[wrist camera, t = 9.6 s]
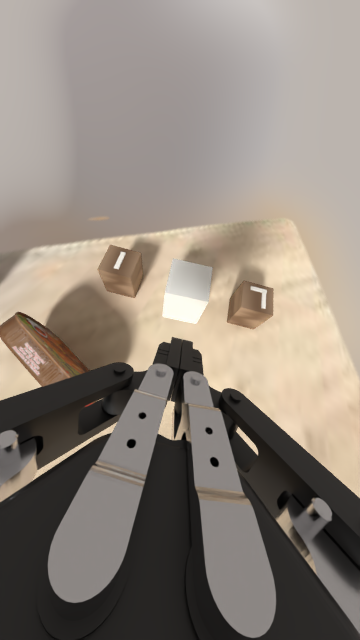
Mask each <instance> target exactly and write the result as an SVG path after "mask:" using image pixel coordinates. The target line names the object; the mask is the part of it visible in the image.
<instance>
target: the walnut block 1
mask: <svg viewBox="0 0 360 640" xmlns="http://www.w3.org/2000/svg"><path fill="white" fill-rule="evenodd" d="M98 271H99V274H100V276H101V278H102V281H103V283H104V285H105V287H106V290H107V291H109V292H113V293H117V294H121V295H125V296H129V297H132V298H135V296H136V293H137V291H138V288H139V285H140V283H141V280H142V278H143V269H142V258H141V253H139V252H136V251H132V250H128V249H124V248H121V247H117V246H113V245H110V246H109V248H108V250H107V252H106V254H105V256H104V258H103V260H102V262H101V263H100V265H99V267H98Z"/></svg>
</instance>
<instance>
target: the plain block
mask: <svg viewBox="0 0 360 640" xmlns="http://www.w3.org/2000/svg"><path fill="white" fill-rule="evenodd" d="M212 269H213V267H209V266H205V265H200V264H196V263H191V262H187V261H183V260H178V259H174V258H173V261H172V265H171V269H170V273H169V277H168V282H167V286H166V290H165V296H164V306H163V316H162V317H166V318H170V319H175V320H180V321H185V322H189V323H194V324H196V323H197V322H198V320H199V318H200V316H201V314H202V313H203V311H204V309H205V307H206V306H207V304H208V302H209V294H210V285H211V277H212Z"/></svg>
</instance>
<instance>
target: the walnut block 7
mask: <svg viewBox="0 0 360 640" xmlns="http://www.w3.org/2000/svg"><path fill="white" fill-rule="evenodd" d="M272 316H273V288H269V287H266V286H262V285H258V284H255V283H251V282H247V281H243V282H242V284H241V285H240V286H239V288H238V289H237V290H236V292H235V293H234V294H233V296H232V297H231V298H230V302H229V310H228V318H227V322H228V323H231V324H235V325H239V326H243V327H247V328H250V329H255V328H256V327H258V326H259V325H260V324H262V323H263V322H265V321H266V320H268V319H269V318H270V317H272Z"/></svg>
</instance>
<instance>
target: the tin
mask: <svg viewBox="0 0 360 640" xmlns="http://www.w3.org/2000/svg"><path fill="white" fill-rule="evenodd" d="M0 337H1V339H2V341H3V342H4V343H5V344H6V346H7V347H8V348H9V349H10V350H11V351H12V353H13V354H14V355H15V356H16V357H17V358H18V360H19V361H20V362H21V363H22V364H23V365H24V367H25V368H26V369H27V370H28V371H29V372H30V373H31V375H32V376H33V377H34V378H35V379H36V380H37V381H38V383H39V384H40V385H41V386H42V387H43V386H46V385H49V384H52V383H55V382H58V381H61V380H64V379H67V378H70V377H73V376H76V375H79V374H82V373H85V372H88V371H89V370H88V369H87V368H86V367H85V366H84V364H83V363H82V362H81V361H80V360H79V359H78V358H77V357H76V356H75V355H74V354H73V353H72V352H71V351H70V350H69V348H68V347H67V346H66V345H65V344H64V343H63V342H62V341H61V340H60V339H59V338H58V337H57V336H56V335H54V334H53V333H52V332H51V331H50V330H49V329H47V328H46V327H45V326H43V325H42V324H41V323H39V322H38V321H36V320H34V319H33V318H31V317H30V316H28V315H26V314H24V313H21V312H17V313H15V315H14V316H12V317H11V318H10V319H8V320H7V321H6V322H4V323H3V324H2V325H1V326H0ZM95 402H96V401H95ZM95 402H93V403H95ZM93 403H91V404H93ZM89 405H90V404H89ZM87 406H88V405H87ZM85 407H86V406H85Z"/></svg>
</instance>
